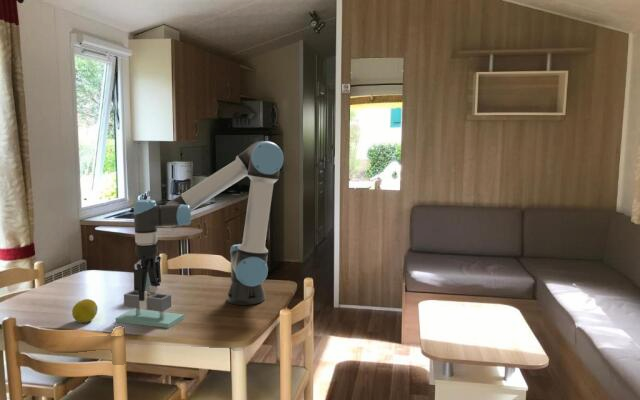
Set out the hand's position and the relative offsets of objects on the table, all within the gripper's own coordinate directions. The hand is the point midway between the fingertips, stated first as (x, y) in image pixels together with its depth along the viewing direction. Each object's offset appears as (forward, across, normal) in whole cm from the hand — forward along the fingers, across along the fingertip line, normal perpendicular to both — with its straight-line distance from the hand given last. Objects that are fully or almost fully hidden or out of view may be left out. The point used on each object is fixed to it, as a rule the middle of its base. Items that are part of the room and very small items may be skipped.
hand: (148, 305), depth 188 cm
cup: (+6, -21, -16) cm, 27 cm away
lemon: (+6, +7, -22) cm, 23 cm away
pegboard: (+5, 0, 0) cm, 5 cm away
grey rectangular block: (0, 0, 0) cm, 1 cm away
